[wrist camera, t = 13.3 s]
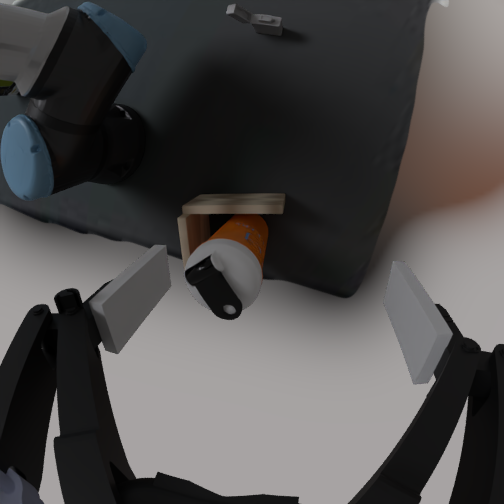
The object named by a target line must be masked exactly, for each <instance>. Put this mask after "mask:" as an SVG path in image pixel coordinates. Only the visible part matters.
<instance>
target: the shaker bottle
mask: <svg viewBox="0 0 504 504" xmlns="http://www.w3.org/2000/svg"><path fill="white" fill-rule="evenodd" d="M267 240H268V227H267V224H266V222H265V221H264V219H263V218H262V217H261V216H260V215H258V214H235V215H234V216H233V217H231V218H230V219H229V220H228V221H227V222H226V223H225V224H224V225H223V226H222V227H221V228H220V229H219V230H218V231H217V232H216V233H215V234H214V235H212V236H211V237H210V238H209V239H208V240H207V241H206V242H204V243H202V244H201V245H199V246H198V247H197V248H196V249H195V251H194V252H193V253H192V255H191V256H190V257H189V258H188V261H187V263H186V266H185V272H184V278H185V281H186V285H187V287H188V289H189V291H190V293H191V294H192V295H193V297H194V298H195V299H196V300H197V301H198V302H199V303H200V304H201V305H203V306H204V307H206V308H208V309H209V310H212V312H213V313H214V314H215V315H216V316H217V317H219V318H222V319H226V320H234V319H235V318H238V317H239V316H240V314H241V312H242V310H244V309H245V308H247V307H249V306H250V305H251V304H252V303H253V302H254V301H255V299H256V298H257V296H258V293H259V291H260V287H261V284H262V279H263V274H262V268H263V263H264V257H265V251H266V245H267Z"/></svg>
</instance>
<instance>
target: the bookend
mask: <svg viewBox="0 0 504 504" xmlns="http://www.w3.org/2000/svg"><path fill="white" fill-rule="evenodd" d="M284 205H285V194H278V193H250V194H201V195H199V196H197V197H196V198H194V199H192V200H191V201H189V202H188V203H186V204H184V205H183V206H182V210H183V214H182V215H181V216H180V217H178V218H177V219H178V227H179V235H180V243H181V250H182V257H183V264H184V271H185V266H186V263H187V261H188V258H189V257H190V256H191V255H192V253H193V252H194V251H195V249H196V248H197V247H198V246H199V245H201V244H202V243H204V242H206V241H207V240H208V239H209V238H210V237H211V235H210V223H209V214H283V210H284Z"/></svg>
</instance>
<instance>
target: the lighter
mask: <svg viewBox="0 0 504 504" xmlns="http://www.w3.org/2000/svg"><path fill="white" fill-rule="evenodd" d="M226 14H227V15H229V16H231V17H233V18H234V19H236V20H238V21H240V22H241V23H252V25H253V27H254V30H255V32H256V33H262V34H270V35H277V36H281V35H282V31H283V26H282V20H281V18H280V17H274V16H271V15H263V14H260V15H257V14H254V15H253V14H252V13H251V12H249V11H248V10H246V9H244V8H243V7H241V6H240V5H238V4H233V5H228V8H227V12H226Z"/></svg>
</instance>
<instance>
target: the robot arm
mask: <svg viewBox="0 0 504 504" xmlns="http://www.w3.org/2000/svg"><path fill="white" fill-rule="evenodd" d="M146 48H147V42H146V39H145V38H144V36H143V35H142V34H141V33H140V32H138V31H137V30H136V29H135V28H133V27H132V26H131V25H129V24H128V23H126V22H125V21H123V20H122V19H120V18H119V17H117V16H116V15H114V14H112V13H111V12H107V11H106V10H105V9H103V8H101V7H100V6H98V5H96V4H94V3H91V2H84V3H83V4H82V5H80V6H79V7H78V10H75V9H73V8H70V7H67V6H65V7H63V8H61V9H58V10H56V11H54V12H52V13H48V14H46V13H42V12H39V11H35V10H31V9H26V8H22V7H17V6H13V5H7V4H2V3H0V80H7V81H13V82H15V83H16V85H17V87H18V89H19V92H20V94H21V96H24V97H31V100H30V102H29V105H28V107H27V110H26V112H25V114H20V115H17V116H16V117H14V118H12V119H11V121H9V122H8V124H7V125H6V127H5V129H4V132H3V136H2V141H1V162H2V168H3V172H4V175H5V178H6V181H7V183H8V185H9V187H10V188H11V190H12V191H13V192H14V193H15V194H16V195H17V196H18V197H19V198H21V199H23V200H35V199H38V198H41V197H43V198H44V197H48V196H50V195H52V194H55V193H57V192H60V191H62V190H65V189H68V188H70V187H73V186H76V185H79V184H82V183H84V182H87V181H88V182H93V183H99V184H113V183H117V182H120V181H122V180H125V179H126V178H128V177H129V176H130V175H131V174H133V172H134V171H135V170H136V169H137V167H138V166H139V164H140V162H141V160H142V157H143V154H144V149H145V131H144V127H143V124H142V122H141V119H140V118H139V116H138V115H137V114H136V112H135V111H134V110H132V109H131V108H130V107H128V106H125V105H122V104H113V103H114V101H115V99H116V98H117V96H118V94H119V92H120V91H121V89H122V88H123V86H124V84H125V83H126V81H127V80H128V78H129V76H130V75H131V73H133V72H134V71H135V67H136V65H137V63H138V62H139V60H140V59H141V57H142V56H143V54H144V52H145V51H146ZM170 287H171V281H170V273H169V266H168V258H167V250H166V246H165V245H154V246H153V247H152V248H150V249H149V250H148V251H147V252H146V253H144V254H143V255H142V256H141V257H140V258H138V259H137V260H136V261H135V262H134V263H132V264H131V265H130V266H129V267H128V268H127V269H125V270H124V271H123V272H122V273H121V274H120V275H118V276H117V277H116V278H115V279H113V280H111V281H109V282H107V283H105V284H104V285H103V286H102V287H101V288H100V289H98V290H97V291H96V292H95V293H94V294H93V295H91V296H90V297H89V298H88V299H87V300H86V301H85V302H84V303H82V300H81V297H80V293H79V291H78V290H77V289H74V288H70V289H65V290H62V291H60V292H59V293H57V294H56V295H55V297H54V300H55V303H56V306H57V309H58V312H59V313H51V312H50V309H49V307H48V305H46V304H41V305H36V306H34V307H33V308H31V309H30V310H29V312H28V313H27V315H26V317H25V318H24V320H23V322H22V324H21V325H20V327H19V329H18V331H17V333H16V335H15V337H14V339H13V341H12V342H11V344H10V347H9V349H8V351H7V353H6V355H5V357H4V359H3V361H2V364H1V366H0V504H44V503H43V501H42V500H41V499H40V497H39V494H38V492H39V488H40V484H41V480H42V473H43V465H44V456H45V447H46V440H47V433H48V428H49V422H50V416H51V411H52V406H53V402H54V397H55V393H56V389H57V401H58V415H59V426H60V436H59V437H55V438H54V452H55V459H56V465H57V471H58V476H59V481H60V486H61V491H62V495H63V499H64V502H65V504H299V503H298V499H299V497H291V496H276V495H265V494H261V495H249V496H231V497H230V496H229V497H225V496H221V495H218V494H216V493H213V492H211V491H209V490H207V489H205V488H203V487H201V486H199V485H197V484H194V483H192V482H190V481H187V480H184V479H180V478H177V477H173V476H169V475H166V474H163V473H160V472H157V475H156V477H155V478H139V479H136V477H135V475H134V473H133V472H132V470H131V468H130V466H129V464H128V461H127V458H126V456H125V452H124V449H123V446H122V443H121V440H120V437H119V433H118V430H117V427H116V423H115V419H114V416H113V412H112V408H111V404H110V400H109V395H108V391H107V387H106V382H105V377H104V372H103V366H102V361H101V355H100V351H99V348H98V345H99V344H100V343H101V341H102V343H103V345H104V348H105V350H106V351H109V352H112V353H116V354H118V353H119V352H120V351H121V350H122V348H123V347H124V345H125V344H126V343H127V342H128V340H129V339H130V338H131V336H132V335H133V334H134V333H135V331H136V330H137V329H138V327H139V326H140V325H141V323H142V322H143V321H144V320H145V318H146V317H147V316H148V315H149V313H150V312H151V311H152V310H153V308H154V307H155V306H156V305H157V303H158V302H159V301H160V299H161V298H162V297H163V296H164V295H165V293H166V292H167V291H168V290H169V288H170ZM383 303H384V306H385V308H386V311H387V313H388V315H389V318H390V320H391V323H392V325H393V328H394V331H395V333H396V336H397V338H398V341H399V344H400V346H401V349H402V352H403V355H404V358H405V361H406V363H407V366H408V369H409V372H410V375H411V378H412V381H413V384H423V383H428V382H429V380H430V379H431V377H432V375H433V373H434V376H435V378H436V381H435V383H434V385H433V386H432V388H431V389H430V391H429V393H428V394H427V397H426V399H425V401H424V403H423V404H422V406H421V408H420V410H419V411H418V413H417V414H416V416H415V418H414V419H413V421H412V423H411V424H410V426H409V427H408V429H407V431H406V432H405V433H404V435H403V436H402V438H401V439H400V441H399V442H398V443H397V445H396V446H395V448H394V449H393V451H392V452H391V453H390V455H389V456H388V457H387V459H386V460H385V461H384V462H383V464H382V465H381V466H380V468H379V469H378V470H377V471H376V473H375V474H374V475H373V476H372V477H371V479H370V480H369V481H368V482H367V483H366V484H365V485H364V487H363V488H362V489H361V490H360V491H359V492H358V493H357V494H356V495H355V497H354V498H353V499H352V500H351V501H350V502H349V503H348V504H419V503H420V501H421V496H420V493H421V491H422V490H423V488H424V486H425V485H426V483H427V481H428V480H429V478H430V476H431V475H432V473H433V471H434V469H435V468H436V466H437V464H438V462H439V460H440V458H441V457H442V455H443V453H444V451H445V448H446V447H447V445H448V443H449V440H450V438H451V436H452V434H453V432H454V430H455V427H456V425H457V423H458V420H459V418H460V415H461V413H462V410H463V408H464V405H465V402H466V400H467V397H468V407H467V418H466V426H465V434H464V440H463V447H462V452H461V457H460V463H459V467H458V472H457V476H456V480H455V484H454V487H453V491H452V495H451V498H450V501H449V504H504V344H498V345H496V347H495V348H494V350H493V352H492V353H490V352H485V351H481V348H480V346H479V345H478V344H477V343H476V342H475V341H474V340H472V339H469V338H464V337H463V335H462V334H461V332H460V331H459V329H458V328H457V326H456V324H455V323H454V322H453V320H452V318H451V317H450V315H449V314H448V312H447V311H446V309H444V308H443V307H442V306H441V305H439V304H434V303H433V301H432V300H431V298H430V297H429V295H428V294H427V292H426V291H425V289H424V288H423V286H422V285H421V283H420V282H419V281H418V279H417V278H416V276H415V275H414V274H413V272H412V271H411V269H410V268H409V267H408V265H407V264H406V263H405V262H404V261H393V263H392V267H391V272H390V276H389V281H388V285H387V289H386V293H385V297H384V301H383Z"/></svg>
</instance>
